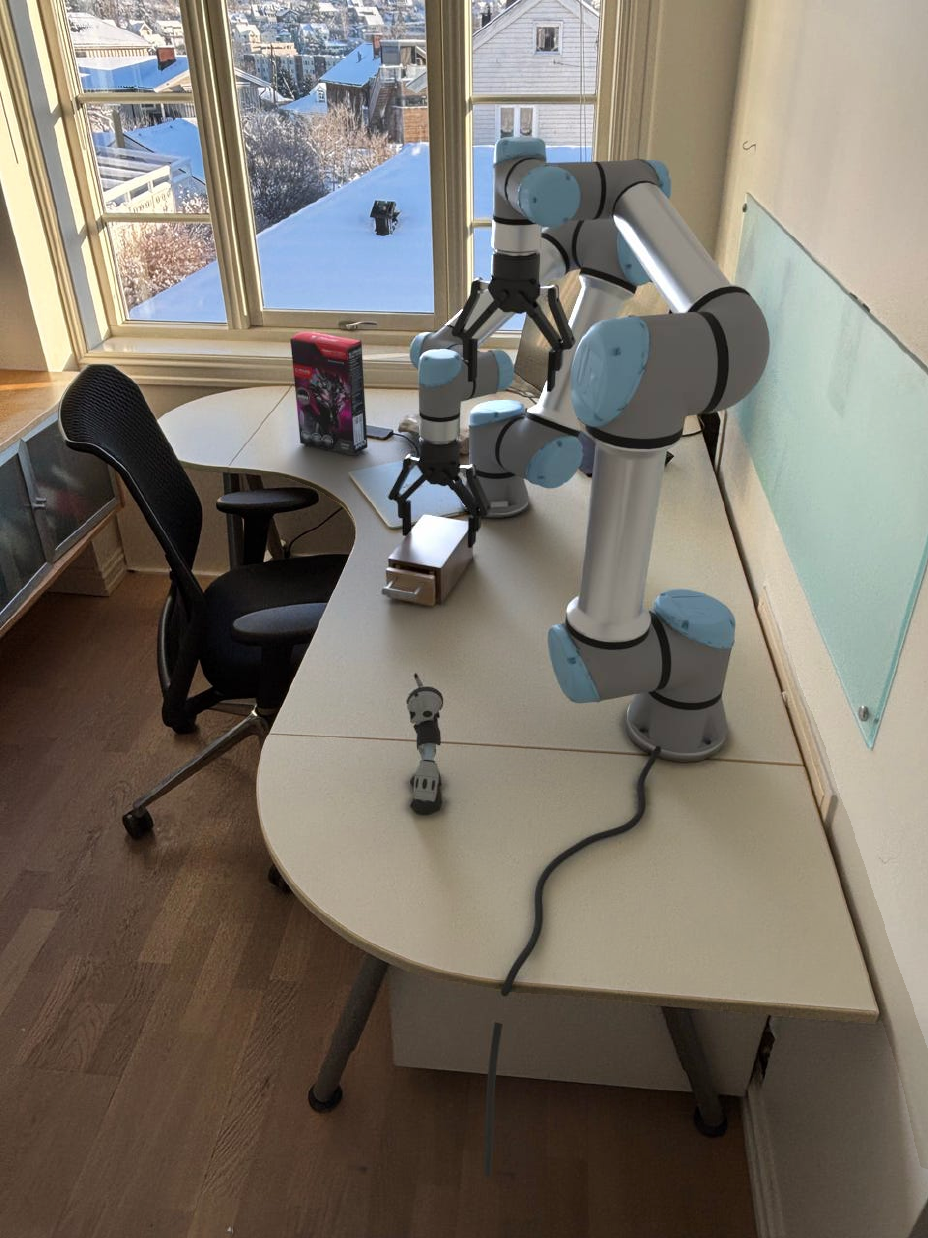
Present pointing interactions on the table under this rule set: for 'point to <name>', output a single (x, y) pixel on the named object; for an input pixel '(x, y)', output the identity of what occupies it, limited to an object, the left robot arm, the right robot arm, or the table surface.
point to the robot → (426, 746)
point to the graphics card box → (329, 392)
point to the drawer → (411, 584)
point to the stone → (412, 427)
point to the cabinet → (436, 551)
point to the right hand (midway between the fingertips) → (511, 384)
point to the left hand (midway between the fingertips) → (439, 538)
